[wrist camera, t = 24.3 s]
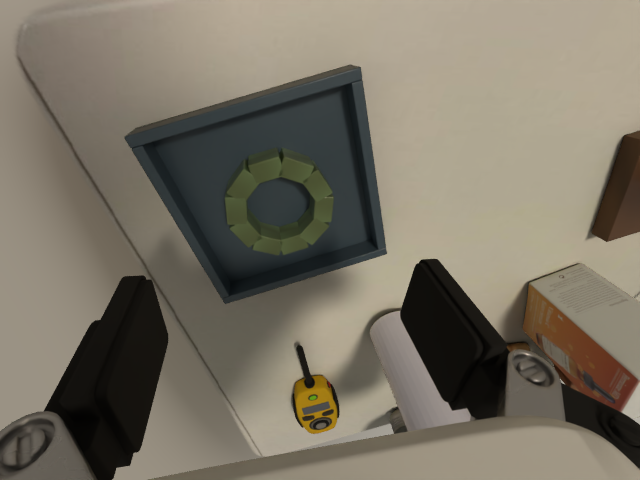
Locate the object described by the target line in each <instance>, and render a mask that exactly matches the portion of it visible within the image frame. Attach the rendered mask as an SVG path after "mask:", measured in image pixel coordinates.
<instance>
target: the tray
mask: <svg viewBox="0 0 640 480" xmlns="http://www.w3.org/2000/svg"><path fill="white" fill-rule="evenodd" d="M125 140H126V141H127V143H128V144H129V146H130V148H132V151H133V153H134V154H135V156H136V158H137V159H138V161H139V163H140V164H141V166H142V168H143V169H144V171H145V173H146V174H147V176H148V177H149V179H150V181H151V182H152V184H153V186H154V187H155V189H156V191H157V192H158V194H159V196H160V197H161V199H162V201H163V202H164V204H165V206H166V207H167V209H168V211H169V212H170V214H171V216H172V217H173V219H174V220H175V222H176V224H177V225H178V227H179V229H180V230H181V232H182V234H183V235H184V237H185V239H186V240H187V242H188V244H189V245H190V247H191V249H192V250H193V252H194V254H195V255H196V257H197V259H198V260H199V262H200V263H201V265H202V267H203V268H204V270H205V272H206V273H207V275H208V277H209V278H210V280H211V282H212V283H213V285H214V287H215V288H216V290H217V292H218V293H219V295H220V297H221V298H222V300H223V302H224V303H225V304H227V303H230V302H233V301H237V300H240V299H243V298H246V297H250V296H253V295H256V294H259V293H263V292H266V291H269V290H272V289H275V288H279V287H282V286H285V285H288V284H292V283H295V282H298V281H301V280H305V279H308V278H311V277H314V276H317V275H321V274H324V273H327V272H330V271H334V270H337V269H340V268H343V267H347V266H350V265H353V264H356V263H359V262H363V261H366V260H369V259H372V258H376V257H379V256H382V255H385V254H387V252H386V244H385V237H384V230H383V223H382V216H381V208H380V201H379V194H378V187H377V180H376V173H375V166H374V159H373V152H372V144H371V137H370V130H369V123H368V116H367V109H366V102H365V95H364V87H363V81H362V74H361V68H360V67H357V66H353V65H347V66H344V67H341V68H337V69H334V70H330V71H327V72H324V73H320V74H317V75H313V76H310V77H307V78H303V79H300V80H297V81H293V82H290V83H286V84H283V85H280V86H276V87H273V88H270V89H266V90H263V91H259V92H256V93H253V94H249V95H246V96H242V97H239V98H236V99H232V100H229V101H226V102H222V103H219V104H215V105H212V106H209V107H205V108H202V109H199V110H195V111H192V112H188V113H185V114H182V115H178V116H175V117H171V118H168V119H165V120H161V121H158V122H155V123H151V124H148V125H144V126H141V127H138V128H135V129H134V130H133V131H132V132H130V133H129V134H128V135H126V136H125ZM273 148H278V151H279V154H280V151H281V148H286V149H288V150H291V151H294V152H297V153H300V154H303V155H306V156H308V157H310V160H311V161H312V160H314V162H315V163H316V165H317V166H318V168H319V169H320V171H321V172H322V174H323V175H324V177H325V178H326V180H327V182H328V183H329V185H330V187H331V189H332V191H333V193H332V194H333V196H334V203H333V212H332V221H331V222H328V223H329V227H328V228H327V230H326V231H325V232H324V233H323V234H322V235H321V236H320V237H319V238H318V240H317V241H316V242H315V243H314V244H313V245H311V244H309V243H308V248H305V249H302V250H299V251H296V252H292V253H289V254H286V255H283V254H282V252H281V251H280V254H279V255H273V254H269V253H264V252H260V251H255V250H252V246H250V247H249V248H248V247H247V246H246V245H245V244H244V243H243V242H242V241H241V240H240V239H239V238H238V237H237V236H236V235H235V234H234V233H233V232H232V231H231V230H230V229H229V228H230V225H228V224H227V217H226V207H225V193H226V187H227V185H228V181H229V179H230V178H231V176H232V175H233V173H234V172H235V171H236V169H237V168H238V166H239V165H240V164H241V162H242V161H243V159H246V160H247V161H248V156H249V155H253V154H256V153H259V152H263V151H266V150H269V149H273ZM309 203H310V193H309V192H308V190H307V189H306V187H305V186H304V185H303V184H302V183H299V182H296V181H292V180H289V179H286V178H283V177H280V178H276V179H273V180H270V181H266V182H263V183H260V184H259V185H258V186H257V188H256V189H255V190H254V192H253V193H252V194H251V196H250V197H249V198H248V209H249V210H250V211H251V212H252V213H253V214H254V215H255V216H256V218H257V219H258V220H259V221H260V222H262V223H266V224H270V225H274V226H278V227H280V226H283V225H287V224H290V223H293V222H297V221H298V220H299V219H300V217H301V216H302V215H303V214H304V213H305V212H306V210H307V209H308V208H309Z"/></svg>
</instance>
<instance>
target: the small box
mask: <svg viewBox="0 0 640 480" xmlns="http://www.w3.org/2000/svg"><path fill="white" fill-rule="evenodd" d="M523 330H524V332H525V333H526V334H527V335H528V336H529V337H530V338H531V339H532V340H533V341H534V342H535V343H536V344H537V345H538V346H539V348H540V349H541V350H542V351H543V352H544V353H545V354H546V355H547V356H548V357H549V358H550V359H551V361H552V362H553V363H554V364H555V365H556V366H557V367H558V368H559V369H560V370H561V371H562V372H563V373H564V374H565V375H566V376H567V377H568V379H569V380H570V381H571V382H572V383H573V384H574V385H575V386H576V387H577V389H578V390H579V391H580V392H581V393H583V394H585V395H587V396H589V397H591V398H593V399H595V400H597V401H599V402H601V403H603V404H605V405H608V406H610V407H612V408H614V409H616V410H618V411H620V412H622V413H623V414H625V415H627V416H629V417H630V418H631V419H635V418H638V417H640V302H639V301H637V300H636V299H634V298H633V297H631V296H630V295H628V294H627V293H626V292H624V291H623V290H621V289H620V288H618V287H617V286H615V285H614V284H612V283H611V282H609V281H608V280H606V279H605V278H603V277H602V276H600V275H599V274H597V273H596V272H594V271H593V270H591V269H590V268H588V267H587V266H585V265H584V264H582V263H580V264H577V265H575V266H572V267H569V268H567V269H564V270H561V271H559V272H556V273H553V274H551V275H548V276H545V277H543V278H540V279H538V280H535V281H532V282H530V283H529V289H528V299H527V305H526V312H525V318H524V323H523Z"/></svg>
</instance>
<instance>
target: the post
mask: <svg viewBox="0 0 640 480" xmlns="http://www.w3.org/2000/svg"><path fill="white" fill-rule="evenodd" d="M637 232H640V131H638V132H634V133H631V134H628V135H625V136H624V138H623V141H622V144H621V147H620V150H619V153H618V156H617V159H616V162H615V165H614V168H613V171H612V174H611V177H610V179H609V182H608V185H607V188H606V191H605V194H604V197H603V200H602V203H601V206H600V209H599V212H598V215H597V218H596V221H595V224H594V227H593V230H592V234H594V235H596V236H597V237H599V238H601V239H603V240H604V241H606V242H608V241H611V240H614V239H618V238H621V237H624V236H627V235H630V234H634V233H637Z"/></svg>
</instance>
